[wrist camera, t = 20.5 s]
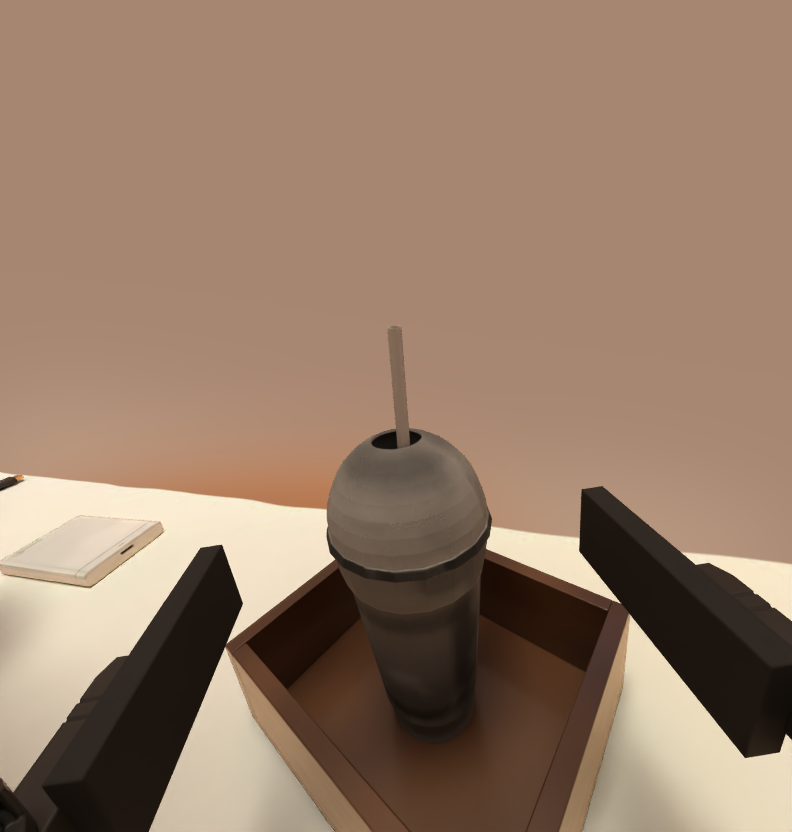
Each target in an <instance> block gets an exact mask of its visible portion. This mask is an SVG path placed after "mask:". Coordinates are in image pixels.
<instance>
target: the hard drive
mask: <svg viewBox="0 0 792 832" xmlns="http://www.w3.org/2000/svg"><path fill="white" fill-rule="evenodd" d="M163 531H164V529H163V527H162V524H161V522H156V521H144V520H132V519H120V518H105V517H93V516H77V517H75V518H74V519H72V520H70V521H68V522H67V523H65V524H63V525H61V526H60V527H58V528H56V529H54V530H53V531H51V532H49V533H47V534H46V535H44V536H42V537H40V538H39V539H37V540H35V541H34V542H32V543H30V544H28V545H27V546H25V547H23V548H21V549H20V550H18V551H16V552H14V553H13V554H11V555H9V556H7V557H6V558H4V559H2V560H1V561H0V570H1V572H2V573H3V574H9V575H16V576H22V577H29V578H35V579H43V580H49V581H56V582H63V583H69V584H76V585H82V586H91V585H94V584H95V583H97V582H98V581H100V580H101V579H102V578H103V577H105V576H106V575H107V574H109V573H110V572H111V571H113V570H114V569H115V568H117V567H118V566H119V565H121V564H122V563H123V562H125V561H126V560H127V559H128V558H130V557H131V556H132V555H134V554H135V553H136V552H138V551H139V550H140V549H142V548H143V547H144V546H146V545H147V544H148V543H150V542H151V541H152V540H154V539H155V538H156V537H158V536H159V535H160V534H161V533H162V532H163Z"/></svg>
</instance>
